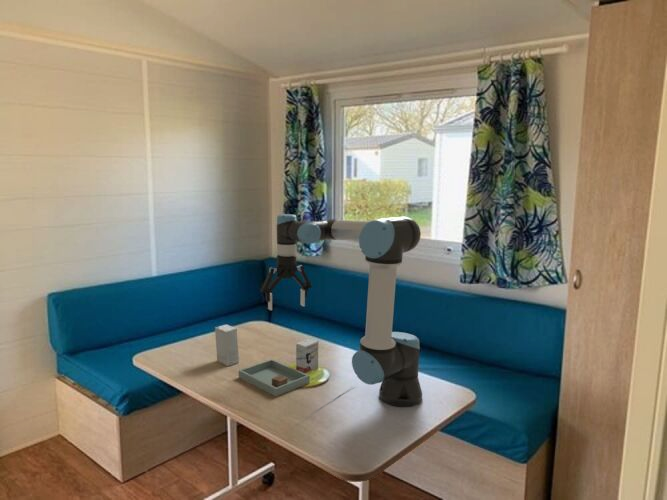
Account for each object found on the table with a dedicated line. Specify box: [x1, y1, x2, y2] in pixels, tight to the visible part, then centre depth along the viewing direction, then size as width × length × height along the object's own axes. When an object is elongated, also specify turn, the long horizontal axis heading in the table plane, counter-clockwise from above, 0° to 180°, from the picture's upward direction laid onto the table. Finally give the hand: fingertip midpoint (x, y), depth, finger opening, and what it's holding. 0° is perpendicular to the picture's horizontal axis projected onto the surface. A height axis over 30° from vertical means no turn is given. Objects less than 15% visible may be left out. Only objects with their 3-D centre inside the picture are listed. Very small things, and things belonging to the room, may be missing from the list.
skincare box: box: [214, 323, 240, 367], centre depth 205 cm, size 8×6×15 cm
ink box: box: [295, 338, 319, 373], centre depth 199 cm, size 9×5×12 cm, turn 143°
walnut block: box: [272, 375, 288, 387], centre depth 180 cm, size 4×4×4 cm
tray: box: [238, 358, 311, 397], centre depth 187 cm, size 22×16×4 cm
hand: (286, 307), depth 197 cm, fingers open, 13 cm apart
